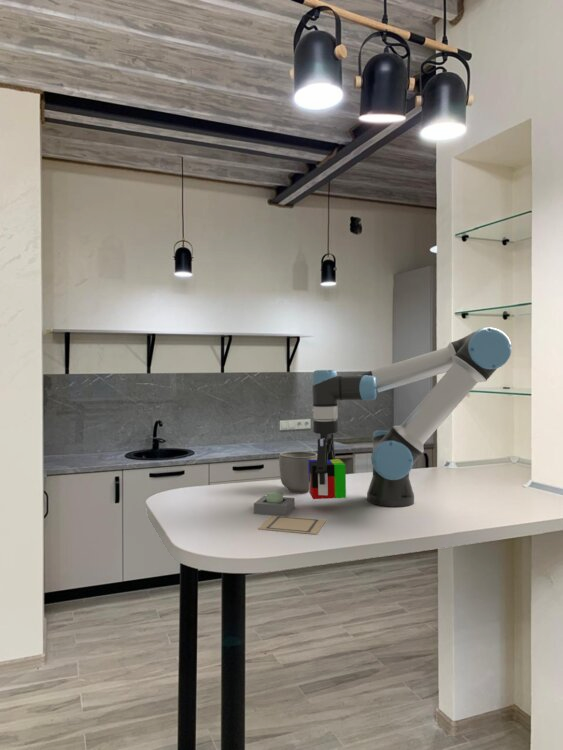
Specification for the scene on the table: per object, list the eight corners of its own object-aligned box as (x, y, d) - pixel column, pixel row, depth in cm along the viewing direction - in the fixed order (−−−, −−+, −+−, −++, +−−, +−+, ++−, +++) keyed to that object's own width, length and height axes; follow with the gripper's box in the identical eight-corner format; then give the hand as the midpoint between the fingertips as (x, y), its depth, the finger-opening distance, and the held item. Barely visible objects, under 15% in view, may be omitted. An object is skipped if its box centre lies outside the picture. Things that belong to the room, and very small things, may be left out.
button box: (294, 507, 170) (294, 497, 170) (286, 516, 160) (286, 505, 160) (263, 505, 172) (263, 495, 172) (253, 513, 163) (253, 503, 163)
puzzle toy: (309, 491, 174) (308, 460, 174) (340, 490, 174) (339, 459, 174) (312, 499, 164) (312, 465, 164) (346, 497, 164) (345, 464, 164)
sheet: (325, 520, 156) (325, 519, 155) (316, 534, 143) (316, 533, 143) (271, 516, 160) (271, 515, 160) (258, 529, 147) (258, 528, 147)
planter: (272, 493, 188) (272, 455, 188) (287, 485, 201) (287, 449, 201) (310, 497, 183) (311, 458, 183) (323, 488, 196) (323, 452, 196)
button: (284, 503, 168) (284, 492, 168) (280, 507, 163) (280, 496, 163) (269, 502, 169) (269, 491, 169) (264, 506, 164) (264, 495, 164)
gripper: (320, 416, 181) (322, 481, 182) (304, 423, 158) (306, 499, 159) (343, 416, 179) (344, 482, 180) (330, 424, 156) (332, 500, 157)
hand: (326, 490), depth 169 cm, fingers closed on puzzle toy, 12 cm apart
